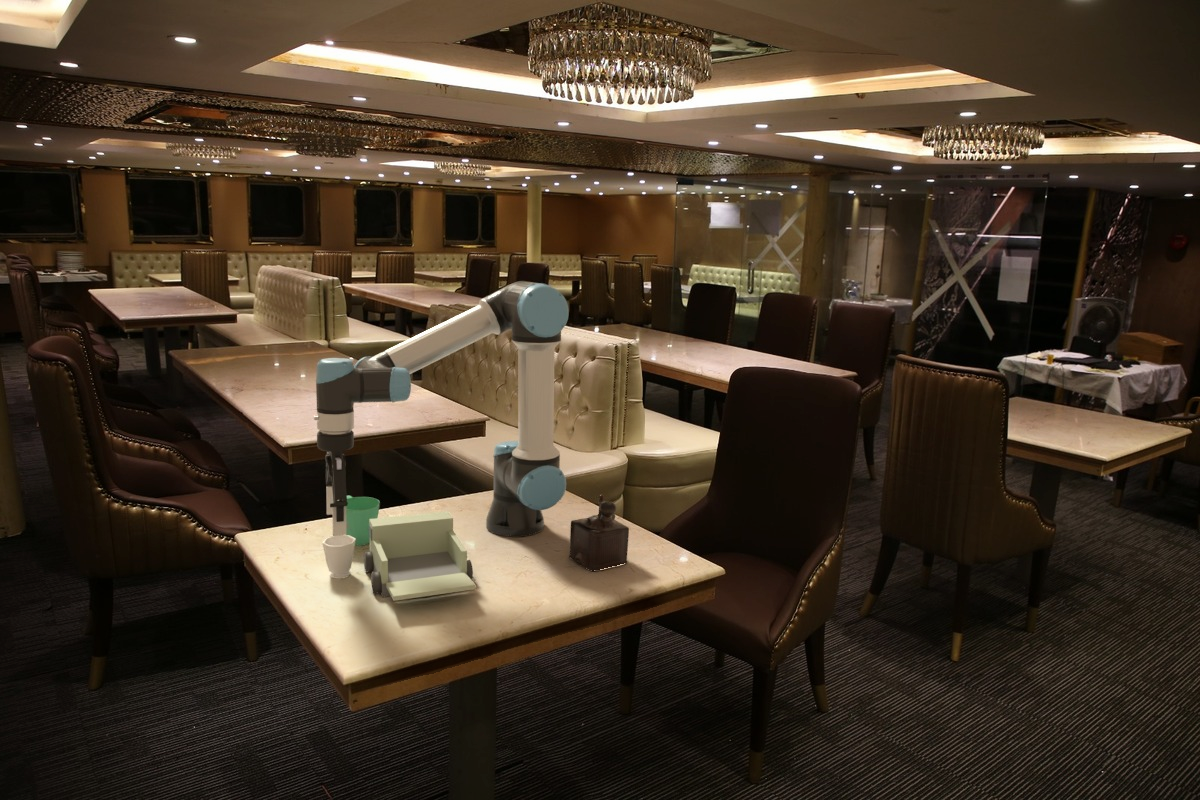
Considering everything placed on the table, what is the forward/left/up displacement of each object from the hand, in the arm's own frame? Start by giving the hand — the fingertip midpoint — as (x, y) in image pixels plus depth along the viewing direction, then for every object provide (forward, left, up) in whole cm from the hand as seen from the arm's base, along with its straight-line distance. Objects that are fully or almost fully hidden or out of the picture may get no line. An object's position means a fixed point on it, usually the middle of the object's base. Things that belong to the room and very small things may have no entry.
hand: (336, 524), depth 173 cm
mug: (-6, -19, -12) cm, 23 cm away
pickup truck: (-16, +7, -11) cm, 21 cm away
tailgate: (-16, +17, -8) cm, 25 cm away
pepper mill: (-58, +15, -12) cm, 61 cm away
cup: (0, 0, -12) cm, 12 cm away
